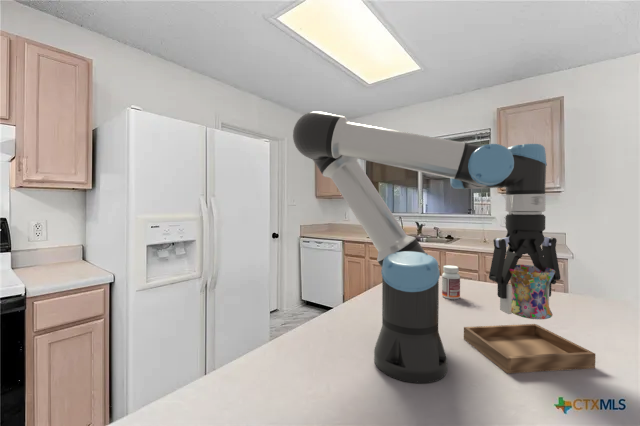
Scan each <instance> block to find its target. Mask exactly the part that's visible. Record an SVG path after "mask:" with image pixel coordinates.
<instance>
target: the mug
mask: <svg viewBox="0 0 640 426" xmlns="http://www.w3.org/2000/svg"><path fill="white" fill-rule="evenodd" d="M509 270H510V273H511V278H510V280H509V282H510V285H512V310H511V312H512V314H513V315H516V316H517V317H520V318H525V319H530V320H547V319H551V318H552V317H553V316H554V315H553V312H552V310H551V308H550V303H549V304H548V289H549V285H550V282H551V280H552V278H553V276H554V274H555V270H553V269H550V268H546V269H545V272H543V271H541V270H539V269H538V268H536V267H535V266H534V264H520V263H519V264H518V263H517V264H516V267H515V269H514V270H513V269H509Z"/></svg>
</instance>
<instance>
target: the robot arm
mask: <svg viewBox="0 0 640 426" xmlns="http://www.w3.org/2000/svg"><path fill="white" fill-rule="evenodd" d="M292 139H293V143H294V146H295V148H296V150H297V151H298V152H299V153H300V154H301V155H302V156H304V157H306V158H308V159H311V160H312V161H313V162H314V164H315V166H316V167H317V168H318V170H319V172H320V173H321V174H322V177H324V178H328V179H329V178H330V179H331V180H332V182H333V183H334V185H335V187H336V188H337V189H338V191H339V193H340V194H341V196H342V197H343V199H344V201H345V202H346V203H347V205H348V207H349V209H350V210H351V211H352V213H353V214H354V217H356V219H357V221H358V222H359V224H360V226H361V227H362V229H363V230H364V231H365V233H366V235H367V236H368V238H369V239H370V241H371V242H372V244H373V246H374V248H375V249H376V250H377V258H376V261H377V262H378V264H379V266H380V267H381V272H380V273H381V278H382V290H381V292H382V295H381V297H382V299H381V300H382V304H381V306H382V307H381V312H382V313H381V315H382V318H381V319H382V321H381V323H382V325H381V328H380V331H379V334H378V336H377V337H378V338H377V340H376V341H375V342H376V343H375V345H374V350H373V353H374V354H373V355H374V358H373V360H374V364H375V366H376V368H378V369H379V371H381V372H382V373H384V374H385V375H387V376H389V377H391V378H393V379H396V380H400V381H402V382H407V383H413V384H414V383H415V384H427V383H434V382H436V381H439V380H441V379H442V378H444V377H445V376H446V375H447V373H448V357H447V354H446V350H445V348H444V345H443V341H442V339H441V336H440V332H439V308H440V307H439V295H440V293H439V292H440V290H439V289H440V288H439V286H440V285H439V284H440V283H439V281H440V277H441V276H440V275H441V273H440V269H439V263H438V260H437V259H436V258H435V257H434V256H432V255H431V254H428V252H426V251H425V249H424V248H423V247H422V245H421V244H420V243H419V241H418V239H417V238H416V237H415V236H411V235H408V234H406V232H405V230H404V229H403V228H402V226H401V225H400V223H399V222H398V220H397V218H395V215H394V214H393V212H392V211H391V210H390V208H389V206H388V205H387V203H386V202H385V200H384V199H383V198H382V196H381V195H380V193H379V191H378V190H377V189H376V187H375V186H374V184H373V182H372V180H371V179H370V178H369V177H368V175H367V174H366V173H367V172H365V170H364V169H363V167H362V166H361V164H360V163H359V161H358V160H363V161H367V162H373V163H377V164H382V165H385V166H392V167H396V168H399V169H406V170H411V171H414V172H419V173H423V174H424V173H425V174H429V175H433V176H439V177H444V178H447V179H450V186H451V187H452V189H456V190H459V189H461V190H468V189H469V190H470V189H474V190H475V189H476V190H477V189H479V190H480V189H496V188H498V189H502V188H503V189H504V188H505V212H507V214H506V215H505V229H506V232H507V233H506V236H505V237H501V238H500V237H494V238H493V246H494V247H493V248H494V249H493V253H492V258H491V266H490V270H489V275H488V279H489V280H490V281H493V282H495V283H496V284H497V297H498V298H499V300H500V301H499V310H500V311H501V312H504V313H505V314H507V315H512V314H513V313H512V312H511V310H512V285H511V284H509V282H510V278H511V273H510V270H509V269H513V270H514V269H515V267H516V264H518V262H519V260H520V259H521V258H522V256H523V255H528V256H529V257H530V260H531V263H532V265H534V266H535V267H536V268H538V269H539V270H541V271H543V272H545V269H546V268H550V269H553V270H555V274H554V276H553V278H552V280H551V282H550V285H549V289H548V304H549V305H550V297H551V296H552V285H556V284H557V281H560V280H561V272H560V267H559V261H558V255H557V249H556V248H557V238H556V237H549V236H544V233H543V232H544V231H545V230H546V215H545V214H543V213H544V212H545V211H546V194H547V193H546V181H547V180H546V179H547V176H546V175H547V166H548V165H547V153H546V148H545V146H544V145H543V144H540V143H524V144H516V145H512V146H508V147H506V146H504V145H503V144H498V143H489V144H483V145H480V144H473V143H467V142H463V141H462V142H461V141H458V140H451V139H445V138H440V137H433V136H428V135H424V134H417V133H413V132H406V131H401V130H397V129H396V130H395V129H389V128H384V127H378V126H372V125H368V124H362V123H357V122H350V121H349V120H348V118H347V117H346V116H343V115H338V114H332V113H328V112H324V111H310V112H307V113H305V114H303V115H302V116H301V117H299V118H298V119H297V121H296V123H295V124H294V127H293V129H292Z"/></svg>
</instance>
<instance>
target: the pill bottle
mask: <svg viewBox="0 0 640 426" xmlns="http://www.w3.org/2000/svg"><path fill="white" fill-rule="evenodd" d="M442 267H443V273H442V275H441V295H442V297H443V298H445V299H450V300H457V299H460V298H461V275H460V274H459V271H460V270H459V269H460V268H459V266H457V265H450V264H449V265H443V266H442Z"/></svg>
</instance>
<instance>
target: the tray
mask: <svg viewBox="0 0 640 426" xmlns="http://www.w3.org/2000/svg"><path fill="white" fill-rule="evenodd" d="M463 340H464V341H465V342H467V343H468V344H469V345H471V346H472V347H473V348H474V349H476V350H477V351H478V352H480V353H481V354H482V355H483V356H484V357H486V358H487V359H488V360H490V361H491V362H492V363H493V364H495V365H496V366H497V367H498V368H500V370H502V371H504V372H505V373H506V374H519V373H521V374H522V373H535V372H536V373H538V372H540V373H541V372H552V371H553V372H554V371H555V372H556V371H573V370H591V369H596V353H595V352H592V351H591V350H589V349H587V348H586V347H583V346H581V345H579V344H577V343H575V342H572V341H571V340H569V339H567V338H564V337H563V336H560V335H558V334H557V333H554V331H553V332H552V330H549V329H546V328H544V326H543V327H542V326H541V325H538V324H536V323H529V324H528V323H526V324H507V325H506V324H504V325H502V324H501V325H500V324H499V325H482V326H481V325H480V326H479V325H478V326H463Z"/></svg>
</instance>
